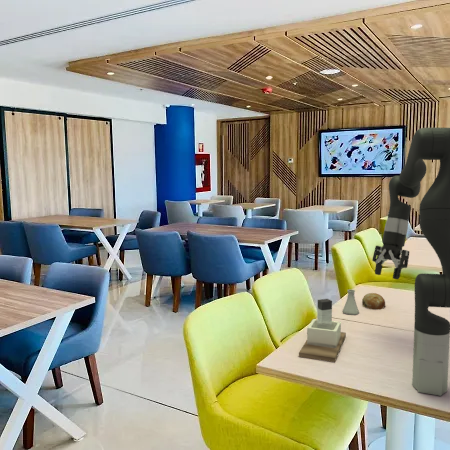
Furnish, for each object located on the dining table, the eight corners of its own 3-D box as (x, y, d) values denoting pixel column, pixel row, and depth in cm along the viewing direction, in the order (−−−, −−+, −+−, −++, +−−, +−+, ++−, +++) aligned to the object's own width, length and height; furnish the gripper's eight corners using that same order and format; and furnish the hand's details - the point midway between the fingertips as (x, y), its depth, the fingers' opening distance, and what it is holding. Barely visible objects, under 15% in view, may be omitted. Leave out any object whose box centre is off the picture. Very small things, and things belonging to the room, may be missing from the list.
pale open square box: (336, 348, 154) (336, 331, 154) (307, 344, 158) (307, 327, 158) (340, 337, 164) (340, 322, 163) (313, 334, 167) (313, 318, 167)
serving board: (334, 362, 147) (335, 357, 147) (298, 356, 152) (298, 352, 151) (345, 336, 169) (345, 332, 169) (313, 332, 174) (313, 328, 173)
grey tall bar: (331, 339, 160) (332, 300, 158) (321, 340, 159) (322, 302, 157) (326, 336, 163) (327, 298, 161) (317, 337, 162) (317, 299, 160)
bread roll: (360, 312, 208) (354, 297, 206) (375, 299, 211) (370, 285, 209) (375, 318, 199) (370, 303, 197) (391, 305, 202) (386, 291, 200)
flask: (340, 314, 195) (340, 291, 193) (344, 309, 201) (344, 287, 200) (357, 316, 191) (358, 293, 190) (360, 311, 198) (361, 289, 196)
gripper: (373, 228, 165) (364, 272, 164) (403, 231, 152) (393, 279, 151) (388, 232, 168) (379, 274, 167) (419, 235, 155) (409, 282, 155)
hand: (386, 276), depth 159 cm, fingers open, 8 cm apart
